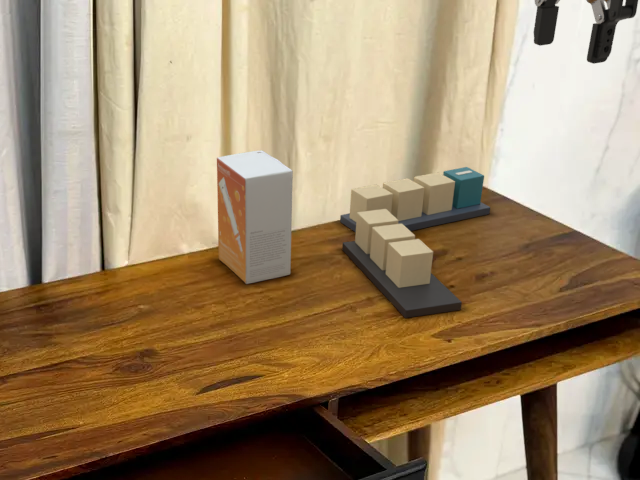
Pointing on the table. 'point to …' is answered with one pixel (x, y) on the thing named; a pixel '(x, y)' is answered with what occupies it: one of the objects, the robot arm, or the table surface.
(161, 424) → the table surface
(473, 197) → the teal marked cube
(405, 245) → the near word
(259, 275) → the small box
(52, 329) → the table surface
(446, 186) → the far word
